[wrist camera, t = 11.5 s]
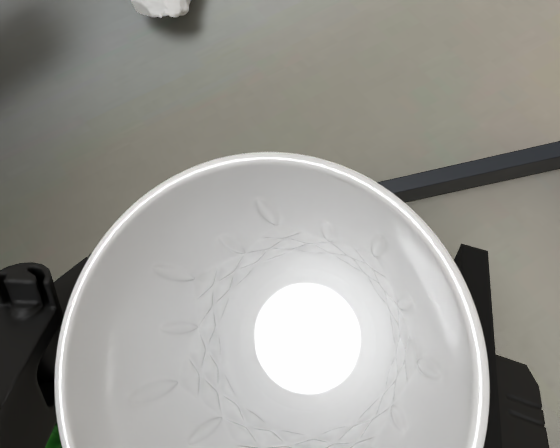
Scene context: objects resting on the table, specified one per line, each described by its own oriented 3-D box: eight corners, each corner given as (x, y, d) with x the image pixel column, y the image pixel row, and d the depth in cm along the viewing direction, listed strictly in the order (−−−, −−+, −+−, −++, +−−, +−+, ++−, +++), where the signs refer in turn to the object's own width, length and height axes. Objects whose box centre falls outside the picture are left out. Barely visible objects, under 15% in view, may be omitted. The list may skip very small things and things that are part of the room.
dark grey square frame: (292, 213, 30) (286, 202, 28) (578, 150, 28) (604, 130, 25) (350, 516, 25) (349, 542, 22) (708, 476, 22) (760, 499, 20)
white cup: (281, 479, 16) (163, 728, 6) (189, 304, 18) (-2, 288, 8) (453, 371, 15) (608, 457, 6) (338, 206, 18) (316, 77, 8)
